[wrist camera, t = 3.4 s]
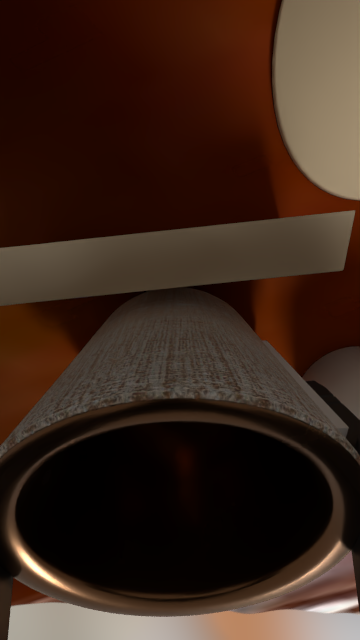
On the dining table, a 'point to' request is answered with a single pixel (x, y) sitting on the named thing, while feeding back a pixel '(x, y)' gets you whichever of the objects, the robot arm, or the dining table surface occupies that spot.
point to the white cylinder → (339, 376)
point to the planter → (175, 470)
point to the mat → (320, 91)
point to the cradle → (175, 258)
